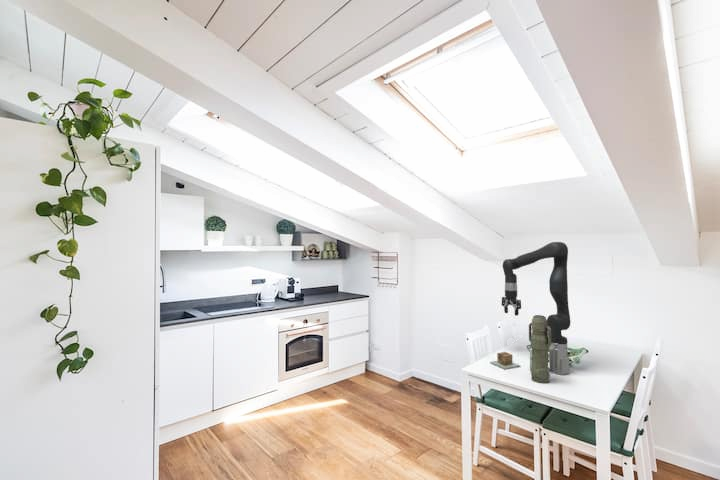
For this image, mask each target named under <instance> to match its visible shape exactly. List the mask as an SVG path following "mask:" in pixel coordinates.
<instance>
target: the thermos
mask: <svg viewBox="0 0 720 480" xmlns="http://www.w3.org/2000/svg"><path fill="white" fill-rule="evenodd" d="M547 331H548V334H547ZM528 341H529V342H530V349H531V348H532V366H531V371H530V375H531V381H533V382H535V383H538V384H549V383H550V370H549V346H550V345H551V328H550V327H549V326H548V322H547V317H546V316H544V315H542V314H541V315H540V314H535V315H533V317H532V319H531V322H530V323H529V324H528Z"/></svg>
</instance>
